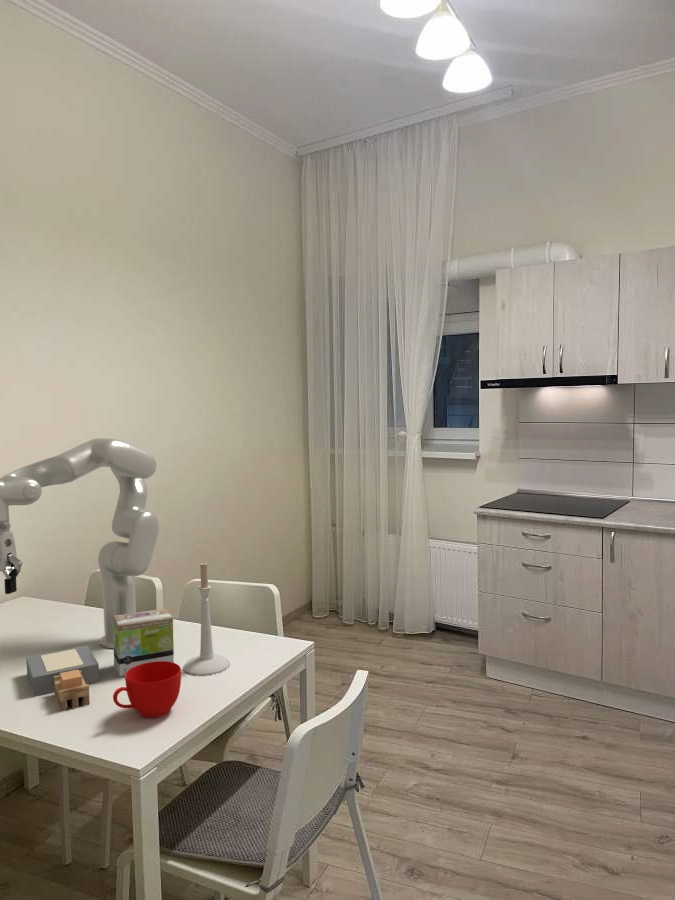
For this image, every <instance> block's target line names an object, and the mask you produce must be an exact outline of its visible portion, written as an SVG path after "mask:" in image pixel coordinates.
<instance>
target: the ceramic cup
mask: <svg viewBox="0 0 675 900" xmlns="http://www.w3.org/2000/svg"><path fill="white" fill-rule="evenodd" d="M124 678H125V679H124V680H125V686H123V687H122V686H121V687H119V688H116V690H115V691H114V692H113V695H112V700H113V702H114V704H115V705H116V706H117V707H118V708H121V709H134V710H135V711H136V712H137V713H138V714H139V715H140V716H141V717H142V718H145V719H158V718H161V717H163V716H165V715H167V714H168V713H169V712H170V710H171V709H172V708H173V707H174V705H175V704H176V702H177V700H178V697H179V695H180V691H181V683H182V668H181V666H180V665H179V664H177V663H176V662H174V663H173V662H166V661H156V662H148V663H144V664H140V665H137V666H135V667H133V668H131V669H130V670H128V671H127V672H126V674H125V676H124ZM123 691H124V692H126V694H127V697H128V701H129V703H130V704H123V703H120V701H119V700H118V695H119V694H120V693H121V692H123Z"/></svg>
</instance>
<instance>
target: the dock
mask: <svg viewBox="0 0 675 900" xmlns="http://www.w3.org/2000/svg"><path fill="white" fill-rule="evenodd" d="M99 665H100V664H99V663H98V661H97V658H95V655H94V654H93V653H92V651H91V649H90V648H89V646H88V645H83V646H78V647H73V648H68V649H63V650H57V651H52V652H47V653H42V654H37V655H31V656H27V657H26V676H27V679H28V682H29V684H30V685H31V686H30V688H31V692H32V695H33V697H38V696H42V695H47V694H52V693H55V692H54V676H57V675H60V673H63V672H68V671H72V670H77V669H78V670H79V671H81V672H82V677H83V679H84V681H85V683H86V685H87V684H88V685H92V683H93V684H97V683H100V671H99V670H100V666H99Z"/></svg>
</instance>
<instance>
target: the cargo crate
mask: <svg viewBox="0 0 675 900" xmlns="http://www.w3.org/2000/svg"><path fill="white" fill-rule="evenodd" d="M60 684H61V686H62V688H63V690H64V689H69V688H73V687H78V686H82V676H81V674H80V672H79V670H78V669H77V670H72V671H68V672H63V673H60Z"/></svg>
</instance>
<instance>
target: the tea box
mask: <svg viewBox="0 0 675 900" xmlns="http://www.w3.org/2000/svg"><path fill="white" fill-rule="evenodd" d="M113 643H114V648H113V666H114V667H115V669H116V672H117V674H118V675H119V677H120V678H121V677H125V674H126V672H127V671H128V670H130V669H131V668H133V667H135V666H137V665H140V664H144V663H148V662H156V661H166V662H173V663H175V662H174V661H175V654H174V653H175V652H174V651H175V650H174V649H175V648H174V644H175V643H174V618H173V616H172V614H171V613H170V612H169V611H168V610H167V609H166V608H158V609H151V610H144V611H138V612H137V611H136V613H129V614H122V615H115V616H113Z"/></svg>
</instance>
